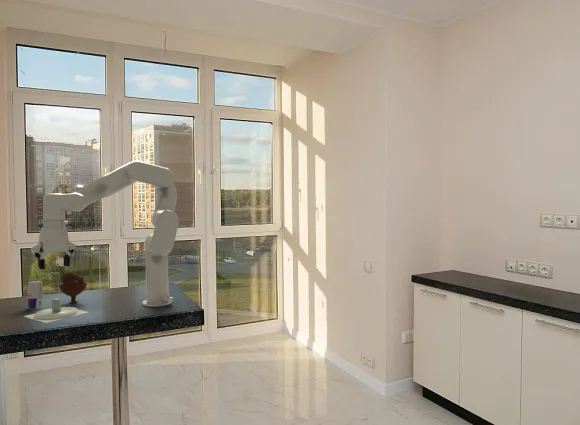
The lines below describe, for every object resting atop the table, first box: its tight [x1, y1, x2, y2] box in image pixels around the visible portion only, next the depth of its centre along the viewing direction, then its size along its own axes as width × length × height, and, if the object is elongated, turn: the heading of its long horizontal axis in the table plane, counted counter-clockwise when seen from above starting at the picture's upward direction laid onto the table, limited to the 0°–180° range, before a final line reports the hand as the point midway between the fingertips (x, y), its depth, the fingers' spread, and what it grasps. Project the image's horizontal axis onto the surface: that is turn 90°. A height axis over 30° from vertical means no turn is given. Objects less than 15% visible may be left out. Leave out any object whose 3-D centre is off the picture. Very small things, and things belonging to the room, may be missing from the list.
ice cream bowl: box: [58, 271, 88, 305], centre depth 185 cm, size 11×11×15 cm
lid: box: [34, 297, 79, 320], centre depth 167 cm, size 15×15×6 cm
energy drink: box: [27, 280, 44, 310], centre depth 177 cm, size 5×5×12 cm
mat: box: [22, 309, 90, 324], centre depth 167 cm, size 17×17×1 cm
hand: (54, 267), depth 166 cm, fingers open, 9 cm apart
